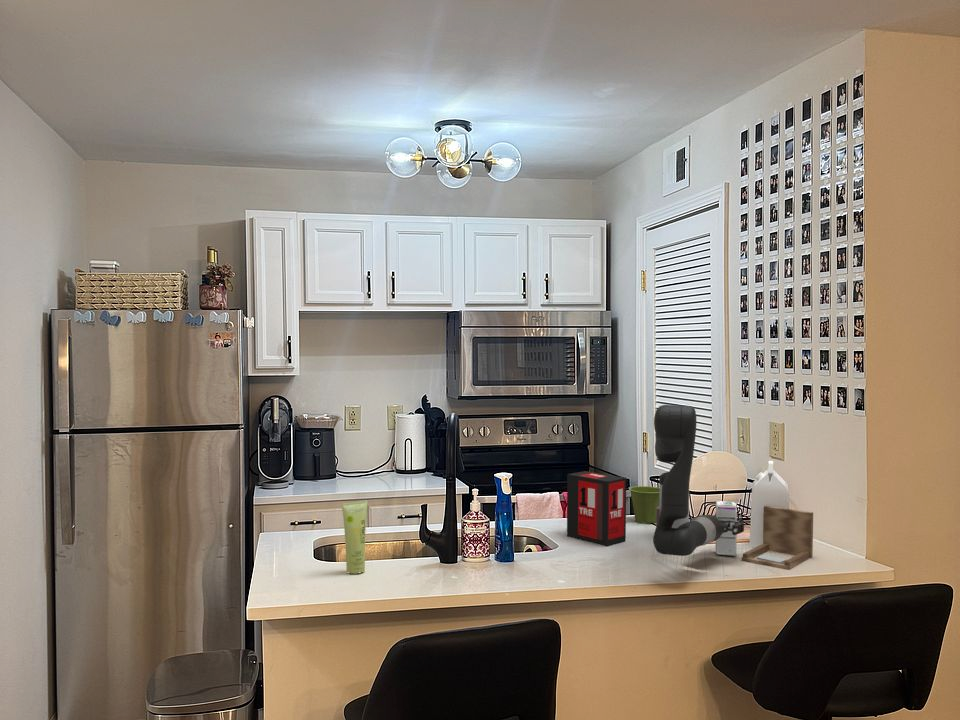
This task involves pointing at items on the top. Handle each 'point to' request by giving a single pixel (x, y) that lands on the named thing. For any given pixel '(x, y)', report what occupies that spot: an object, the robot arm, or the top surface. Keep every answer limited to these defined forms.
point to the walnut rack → (784, 537)
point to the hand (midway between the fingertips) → (728, 520)
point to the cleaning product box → (596, 508)
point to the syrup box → (727, 512)
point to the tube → (355, 535)
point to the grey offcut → (771, 558)
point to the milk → (766, 500)
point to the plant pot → (645, 503)
